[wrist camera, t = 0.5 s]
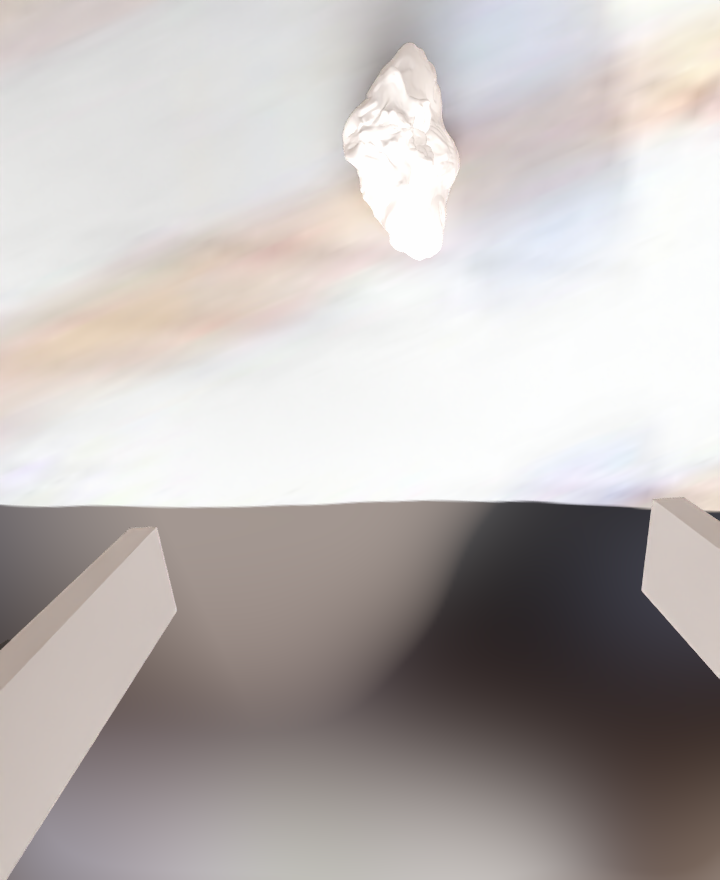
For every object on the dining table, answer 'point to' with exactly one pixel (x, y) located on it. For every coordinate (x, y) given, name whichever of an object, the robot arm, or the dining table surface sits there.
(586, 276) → the dining table surface
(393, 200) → the bust
